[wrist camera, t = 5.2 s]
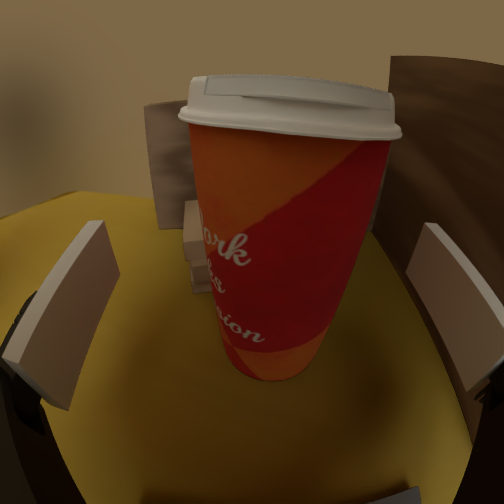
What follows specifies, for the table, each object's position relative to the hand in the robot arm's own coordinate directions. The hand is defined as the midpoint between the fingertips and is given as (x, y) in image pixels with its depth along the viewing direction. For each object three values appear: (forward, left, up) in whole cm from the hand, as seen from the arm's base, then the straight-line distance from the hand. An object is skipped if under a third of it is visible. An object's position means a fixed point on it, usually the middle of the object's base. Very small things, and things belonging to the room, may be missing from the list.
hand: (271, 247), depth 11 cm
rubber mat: (-1, +16, -8) cm, 18 cm away
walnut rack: (-3, -3, -8) cm, 9 cm away
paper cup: (-1, -1, -8) cm, 8 cm away
